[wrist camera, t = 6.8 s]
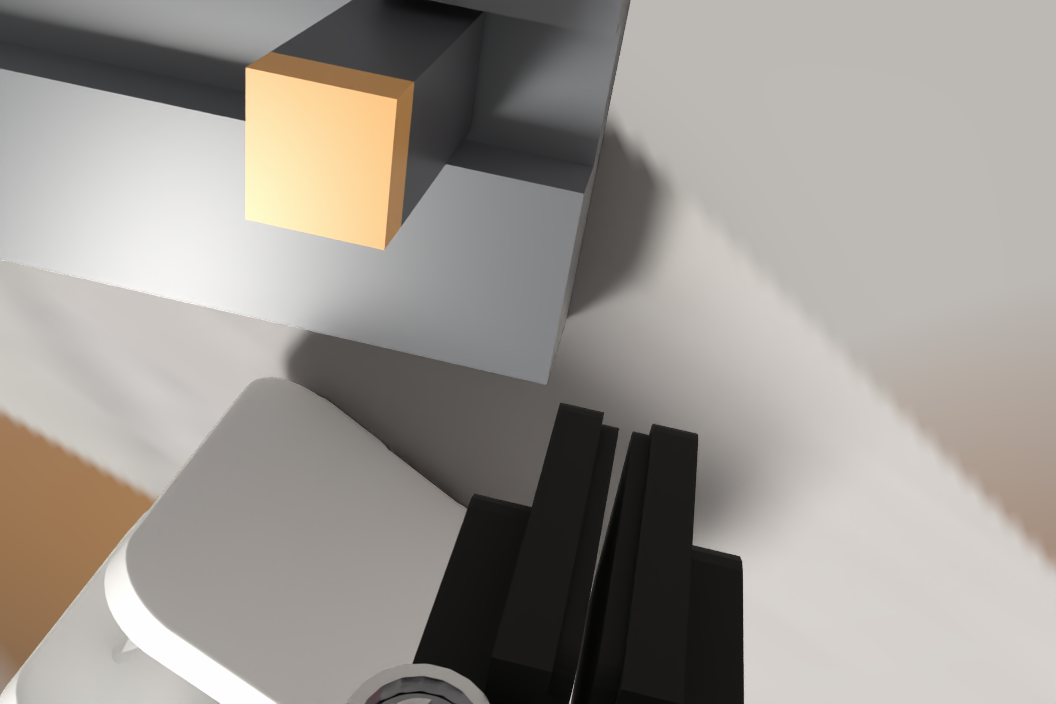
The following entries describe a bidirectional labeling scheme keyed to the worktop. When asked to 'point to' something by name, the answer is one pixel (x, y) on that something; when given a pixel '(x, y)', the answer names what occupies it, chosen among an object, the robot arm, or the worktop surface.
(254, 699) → the cable organizer
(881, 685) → the worktop surface
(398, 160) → the block
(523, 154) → the breaker panel
